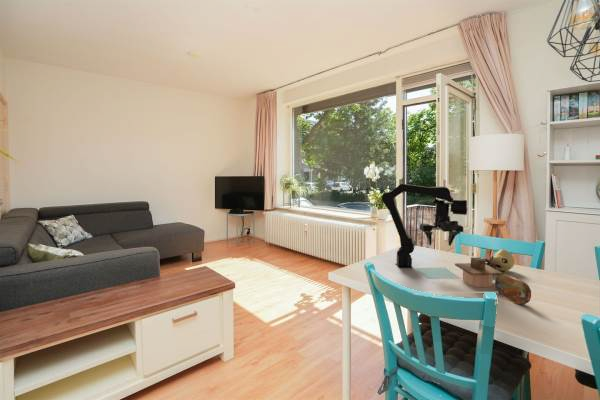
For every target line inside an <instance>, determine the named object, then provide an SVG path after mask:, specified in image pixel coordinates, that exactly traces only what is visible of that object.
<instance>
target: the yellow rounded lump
mask: <svg viewBox="0 0 600 400" xmlns="http://www.w3.org/2000/svg"><path fill="white" fill-rule="evenodd" d="M488 259H489V260H491V261H492V262H493V263H494V264H495V265H496V270H498V271H500V272H504V273H505V274H508V273H509V271H510V270H512V269H513V268H514V266H515V258H514V256H513V255H512V254H511V252H510V251H508V250H507V249H504V248H503V249H499V250H498V251H496V252H494V254H493V255H491V256H490V257H489V258H488Z"/></svg>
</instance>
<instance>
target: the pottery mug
mask: <svg viewBox="0 0 600 400" xmlns="http://www.w3.org/2000/svg"><path fill="white" fill-rule="evenodd" d="M481 258H482V257H481ZM482 259H484V260H486V265H488V266H490V267H492V268H494V269H496V265H495V264H494V263H493V262H492V261H491V260H489V258H484V257H483V258H482Z"/></svg>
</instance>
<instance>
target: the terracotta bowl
mask: <svg viewBox="0 0 600 400" xmlns="http://www.w3.org/2000/svg"><path fill="white" fill-rule="evenodd" d="M493 276H494V275H470V274H468V273H467V272H465V271H464V270H462V281H463V283H465V284H466V285H468V286H473V287H478V288H490V287H492V285H493V280H494V279H493Z"/></svg>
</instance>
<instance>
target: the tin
mask: <svg viewBox="0 0 600 400" xmlns="http://www.w3.org/2000/svg"><path fill="white" fill-rule="evenodd" d="M494 285H495V290H496V291H497V293H498V294H499V295H500V296H501V297H503V298H505V299H507V300H509V301H511V302H513V303H514V304H517V305H525V304H526V305H527V304H529V302H530V301H531V298H532V290H531V287H530V286H529V285H528V283H527V282H525V281H523V280H521V279H518V278H516V277H514V276H512V275H509V274H504V273H503V274H500V275H496V277H495V281H494Z"/></svg>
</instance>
